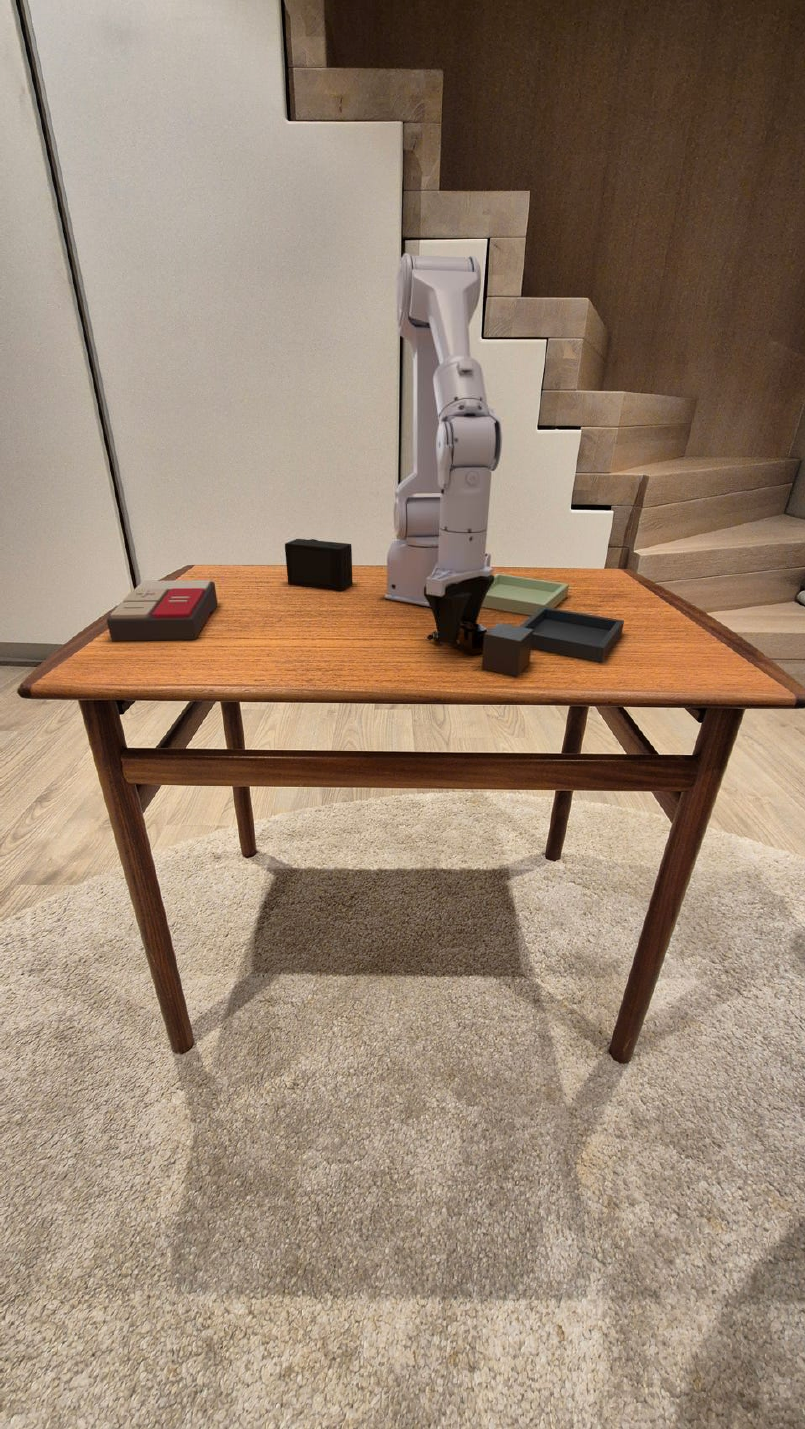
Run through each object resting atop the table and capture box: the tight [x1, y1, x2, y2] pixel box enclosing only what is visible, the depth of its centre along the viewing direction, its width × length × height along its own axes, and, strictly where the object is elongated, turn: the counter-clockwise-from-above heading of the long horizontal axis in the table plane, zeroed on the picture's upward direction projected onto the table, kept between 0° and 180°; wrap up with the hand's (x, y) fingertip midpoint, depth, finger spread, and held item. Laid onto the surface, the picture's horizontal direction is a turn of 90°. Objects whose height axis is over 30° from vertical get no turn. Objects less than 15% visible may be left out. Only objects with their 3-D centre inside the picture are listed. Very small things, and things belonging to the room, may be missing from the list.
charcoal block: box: [481, 622, 533, 678], centre depth 72 cm, size 4×4×4 cm
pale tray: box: [481, 573, 570, 617], centre depth 96 cm, size 13×13×2 cm
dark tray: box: [518, 607, 625, 663], centre depth 80 cm, size 12×12×2 cm
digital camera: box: [284, 538, 354, 592], centre depth 101 cm, size 10×5×7 cm, turn 69°
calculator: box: [106, 579, 218, 642], centre depth 84 cm, size 11×4×15 cm
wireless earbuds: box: [426, 616, 488, 656], centre depth 77 cm, size 5×7×3 cm, turn 31°
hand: (457, 635), depth 78 cm, fingers open, 5 cm apart
